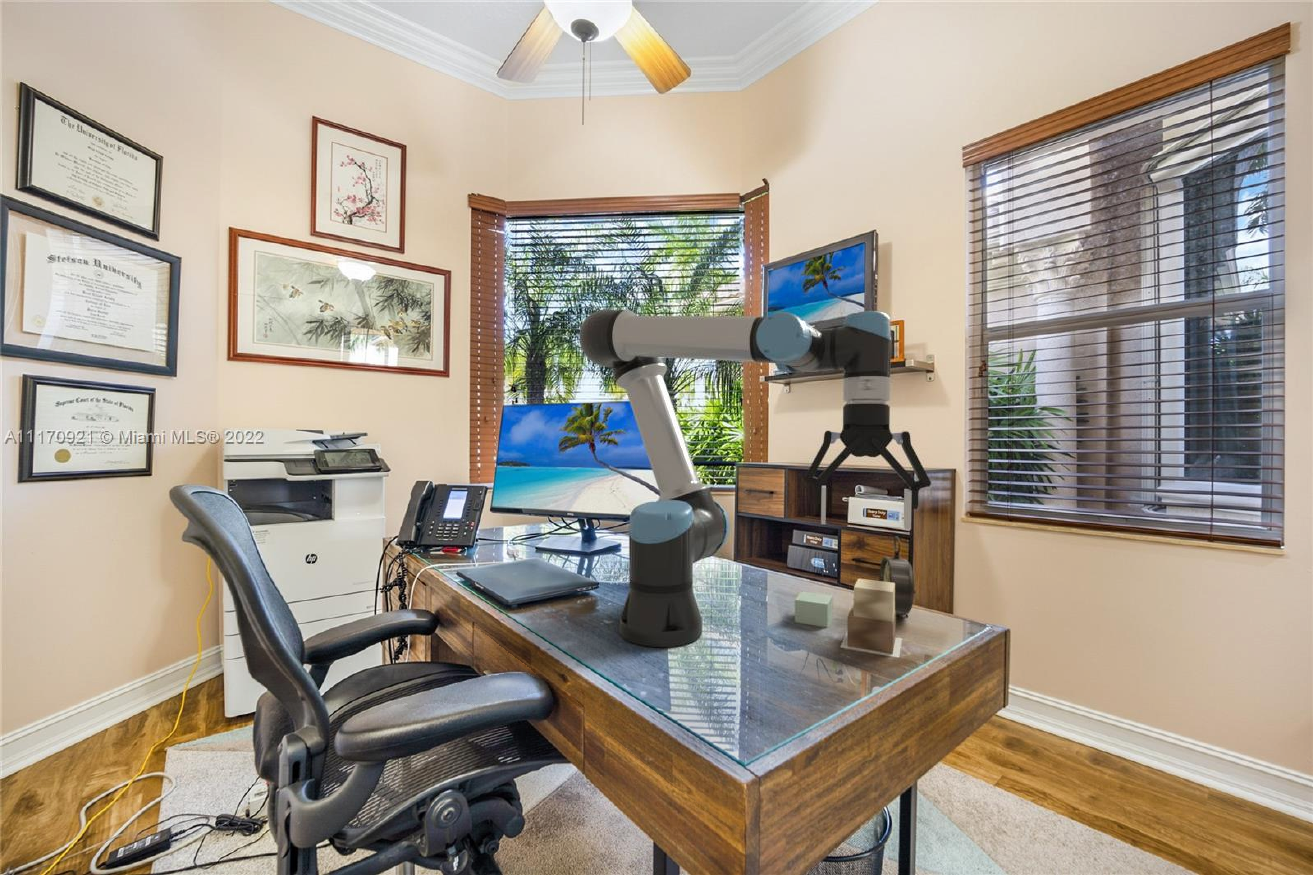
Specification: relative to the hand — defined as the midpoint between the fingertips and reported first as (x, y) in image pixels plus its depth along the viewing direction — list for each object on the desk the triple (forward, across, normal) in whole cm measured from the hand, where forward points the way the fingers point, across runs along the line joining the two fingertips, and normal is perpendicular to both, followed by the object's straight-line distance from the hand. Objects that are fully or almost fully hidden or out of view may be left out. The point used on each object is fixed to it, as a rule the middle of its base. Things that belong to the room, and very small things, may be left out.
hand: (864, 525), depth 92 cm
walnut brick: (+20, +1, -1) cm, 20 cm away
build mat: (+20, +1, -1) cm, 20 cm away
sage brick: (+21, -8, +8) cm, 24 cm away
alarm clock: (+21, +7, +15) cm, 27 cm away
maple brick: (+15, +2, -1) cm, 15 cm away
